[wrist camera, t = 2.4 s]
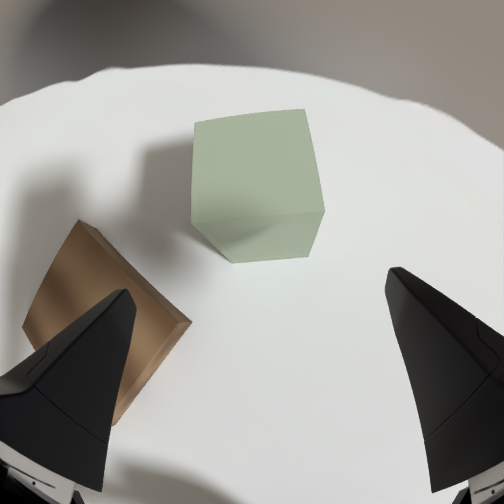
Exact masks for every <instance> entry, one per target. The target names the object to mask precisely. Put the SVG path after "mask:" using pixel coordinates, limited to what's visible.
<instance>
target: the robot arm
mask: <svg viewBox="0 0 504 504" xmlns="http://www.w3.org/2000/svg"><path fill="white" fill-rule="evenodd" d="M385 295H386V299H387V302H388V306H389V310H390V315H391V319H392V323H393V327H394V331H395V335H396V338H397V341H398V344H399V347H400V350H401V353H402V356H403V359H404V363H405V366H406V369H407V373H408V376H409V380H410V383H411V387H412V391H413V394H414V398H415V402H416V406H417V410H418V415H419V419H420V424H421V428H422V433H423V438H424V444H425V450H426V455H427V462H428V468H429V476H430V484H431V491H432V493H435V492H437V491H440V490H443V489H446V488H448V487H451V486H453V485H456V484H458V483H461V482H463V481H465V480H468V484H469V486H468V487H466V488H464V489H462V490H460V491H459V493H458V495H457V496H456V498H455V500H454V501H453V503H452V504H504V336H502V335H501V334H499V333H498V332H496V331H495V330H493V329H492V328H491V327H489V326H488V325H486V324H485V323H484V322H482V321H481V320H480V319H478V318H476V317H475V316H474V315H473V314H471V313H470V312H468V311H467V310H466V309H464V308H463V307H461V306H460V305H458V304H457V303H456V302H454V301H453V300H451V299H450V298H448V297H447V296H445V295H444V294H442V293H441V292H439V291H438V290H436V289H435V288H433V287H432V286H430V285H429V284H427V283H426V282H424V281H423V280H421V279H420V278H418V277H416V276H415V275H413V274H412V273H410V272H409V271H407V270H405V269H404V268H402V267H393V268H390V269H389V271H388V275H387V280H386V285H385ZM136 313H137V307H136V304H135V302H134V300H133V298H132V296H131V294H130V292H129V290H128V289H126V288H120V289H116V290H115V291H113V292H112V293H111V294H109V295H108V296H106V297H105V298H104V299H102V300H101V301H100V302H98V303H97V304H96V305H94V306H93V307H92V308H90V309H89V310H88V311H86V312H85V313H84V314H82V315H81V316H80V317H79V318H77V319H76V320H75V321H73V322H72V323H71V324H69V325H68V326H67V327H66V328H64V329H63V330H62V331H61V332H59V333H58V334H57V335H55V336H54V337H53V338H52V339H51V340H50V341H48V342H47V343H45V344H44V345H43V346H42V347H40V348H39V349H38V350H37V351H35V352H34V353H33V354H32V355H30V356H29V357H27V358H26V359H25V360H23V361H22V362H21V363H19V364H18V365H17V366H15V367H14V368H13V369H11V370H10V371H9V372H7V373H6V374H4V375H2V376H0V504H85V503H84V501H83V499H82V497H81V495H80V493H79V492H78V491H76V490H74V489H75V485H76V483H78V484H80V485H83V486H85V487H88V488H90V489H93V490H95V491H98V492H102V487H103V478H104V470H105V462H106V456H107V449H108V442H109V437H110V431H111V426H112V420H113V415H114V411H115V406H116V401H117V397H118V392H119V388H120V384H121V380H122V376H123V372H124V368H125V364H126V360H127V356H128V353H129V349H130V344H131V339H132V334H133V328H134V323H135V318H136Z"/></svg>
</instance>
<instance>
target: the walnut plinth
mask: <svg viewBox="0 0 504 504" xmlns="http://www.w3.org/2000/svg"><path fill="white" fill-rule="evenodd" d="M120 288H126V289H128V290H129V292H130V294H131V296H132V298H133V300H134V302H135V304H136V307H137V313H136V318H135V323H134V328H133V334H132V339H131V344H130V349H129V353H128V356H127V360H126V364H125V368H124V372H123V376H122V380H121V384H120V388H119V392H118V397H117V401H116V406H115V411H114V415H113V420H112V426H113V425H115V424H116V423H117V422H118V420H119V419H120V418H121V416H122V415H123V414H124V412H125V411H126V410H127V408H128V407H129V406H130V404H131V403H132V402H133V400H134V399H135V398H136V396H137V395H138V394H139V392H140V391H141V390H142V388H143V387H144V386H145V384H146V383H147V382H148V380H149V379H150V378H151V376H152V375H153V374H154V372H155V371H156V370H157V368H158V367H159V366H160V364H161V363H162V362H163V360H164V359H165V358H166V356H167V355H168V354H169V352H170V351H171V350H172V348H173V347H174V346H175V344H176V343H177V342H178V340H179V339H180V338H181V336H182V335H183V334H184V332H185V331H186V330H187V328H188V327H189V326H190V325H191V323H192V321H191V320H189V319H188V318H187V317H186V316H185V315H184V314H183V313H181V312H180V311H179V310H178V309H177V308H176V307H175V306H174V305H172V304H171V303H170V302H169V301H168V300H167V299H166V298H165V297H164V296H163V295H162V294H160V293H159V292H158V291H157V290H156V289H155V288H154V287H153V286H152V285H151V284H150V283H149V282H148V281H147V280H146V279H145V278H144V277H143V276H141V275H140V274H139V273H138V272H137V271H136V270H135V269H134V268H133V267H132V266H131V265H130V264H129V263H128V262H127V261H126V260H125V259H124V258H123V257H122V256H121V254H120V253H119V252H118V251H117V250H116V249H115V248H114V247H113V246H112V245H111V244H110V243H109V242H108V241H107V240H106V239H105V238H104V237H103V235H102V234H101V233H100V232H99V231H98V230H97V229H96V228H94V227H92V226H90V225H88V224H86V223H84V222H82V221H80V220H78V221H77V223H76V224H75V226H74V227H73V229H72V230H71V232H70V234H69V235H68V237H67V238H66V240H65V242H64V243H63V245H62V247H61V248H60V250H59V252H58V254H57V255H56V257H55V259H54V261H53V263H52V264H51V266H50V268H49V270H48V272H47V274H46V276H45V278H44V280H43V282H42V284H41V286H40V288H39V290H38V292H37V294H36V296H35V298H34V300H33V303H32V305H31V307H30V309H29V312H28V314H27V316H26V319H25V321H24V324H23V326H22V328H23V330H24V332H25V334H26V335H27V337H28V339H29V341H30V342H31V344H32V346H33V348H34V349H35V351H37V350H38V349H39V348H40V347H42V346H43V345H44V344H45V343H47V342H48V341H50V340H51V339H52V338H53V337H54V336H55V335H57V334H58V333H59V332H61V331H62V330H63V329H64V328H66V327H67V326H68V325H69V324H71V323H72V322H73V321H75V320H76V319H77V318H79V317H80V316H81V315H82V314H84V313H85V312H86V311H88V310H89V309H90V308H92V307H93V306H94V305H96V304H97V303H98V302H100V301H101V300H102V299H104V298H105V297H106V296H108V295H109V294H111V293H112V292H113V291H115V290H116V289H120Z"/></svg>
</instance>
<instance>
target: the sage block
mask: <svg viewBox="0 0 504 504" xmlns="http://www.w3.org/2000/svg"><path fill="white" fill-rule="evenodd" d="M324 212H325V208H324V202H323V196H322V190H321V185H320V179H319V174H318V168H317V163H316V158H315V153H314V149H313V144H312V139H311V135H310V130H309V126H308V121H307V117H306V113H305V109H295V110H282V111H270V112H261V113H252V114H244V115H237V116H230V117H224V118H218V119H212V120H206V121H201V122H196V123H195V125H194V141H193V160H192V186H191V225H192V226H193V227H194V228H195V229H196V230H197V231H199V232H200V233H201V234H202V235H203V236H204V237H205V238H206V239H207V240H208V241H209V242H210V243H211V244H212V245H213V246H214V247H216V248H217V249H218V250H219V251H220V252H221V253H222V254H223V255H224V256H225V257H226V258H227V259H228V260H229V261H231V262H232V263H244V262H256V261H267V260H279V259H290V258H301V257H308V256H309V253H310V250H311V248H312V245H313V242H314V240H315V237H316V234H317V232H318V229H319V226H320V223H321V221H322V218H323V215H324Z"/></svg>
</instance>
